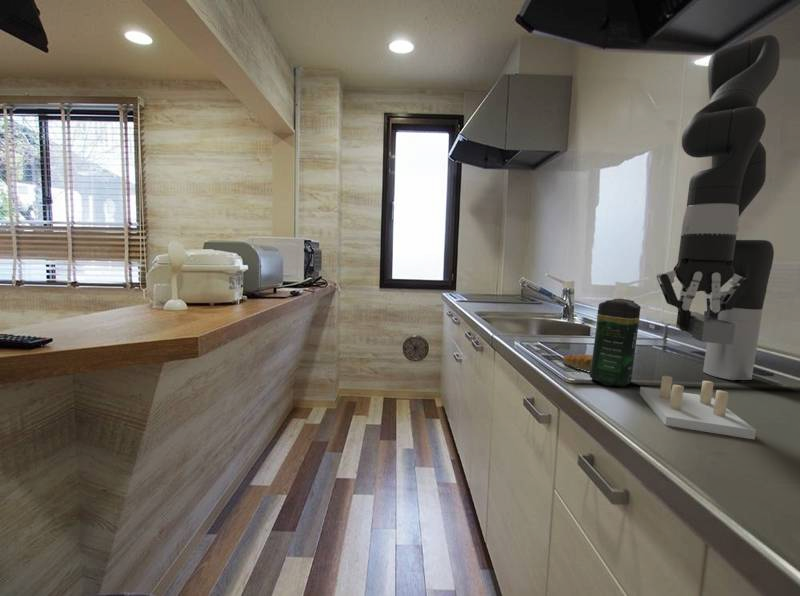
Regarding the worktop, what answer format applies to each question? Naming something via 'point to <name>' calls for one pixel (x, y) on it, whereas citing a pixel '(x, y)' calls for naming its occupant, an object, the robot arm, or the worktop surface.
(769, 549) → the worktop surface
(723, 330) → the grey long block
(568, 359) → the pastry
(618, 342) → the coffee jar
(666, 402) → the rack
